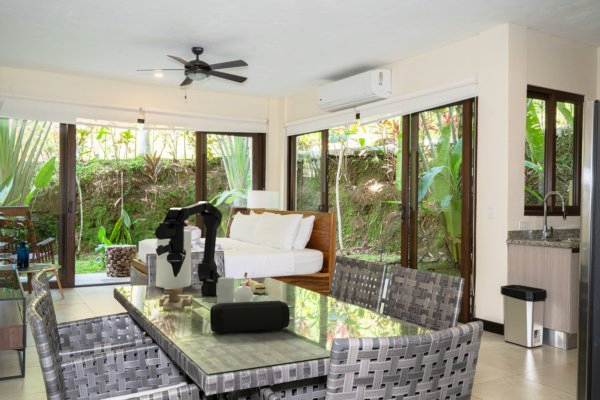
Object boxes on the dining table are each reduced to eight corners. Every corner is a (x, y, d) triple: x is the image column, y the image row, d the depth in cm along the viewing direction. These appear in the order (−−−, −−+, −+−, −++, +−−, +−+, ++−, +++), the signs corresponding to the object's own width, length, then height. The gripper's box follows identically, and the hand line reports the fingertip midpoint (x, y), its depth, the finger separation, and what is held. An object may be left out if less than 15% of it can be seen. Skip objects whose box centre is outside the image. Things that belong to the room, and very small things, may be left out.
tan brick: (182, 306, 201) (182, 287, 201) (181, 307, 198) (181, 289, 198) (164, 306, 200) (165, 287, 200) (163, 307, 197) (164, 289, 197)
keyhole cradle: (191, 300, 214) (192, 295, 214) (187, 309, 196) (187, 303, 196) (162, 300, 212) (162, 295, 212) (155, 309, 195) (156, 303, 195)
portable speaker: (281, 326, 174) (282, 297, 174) (290, 333, 164) (291, 303, 164) (209, 330, 165) (210, 300, 165) (214, 338, 156) (214, 306, 156)
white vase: (249, 315, 188) (249, 284, 188) (230, 314, 189) (230, 283, 189) (254, 311, 195) (255, 281, 195) (236, 310, 197) (237, 280, 197)
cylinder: (153, 283, 257) (154, 229, 257) (186, 281, 264) (187, 229, 264) (158, 288, 241) (160, 231, 241) (193, 287, 248) (195, 231, 249)
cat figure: (235, 289, 252) (251, 294, 229) (235, 272, 253) (251, 275, 230) (253, 288, 256) (271, 293, 234) (253, 271, 257) (271, 274, 234)
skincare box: (233, 306, 204) (234, 277, 204) (231, 308, 200) (232, 279, 200) (219, 305, 205) (220, 276, 205) (216, 307, 201) (217, 278, 201)
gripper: (160, 235, 214) (160, 271, 214) (153, 240, 195) (153, 279, 196) (186, 235, 215) (186, 271, 216) (182, 240, 197) (182, 278, 197)
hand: (176, 274), depth 206 cm, fingers open, 9 cm apart
